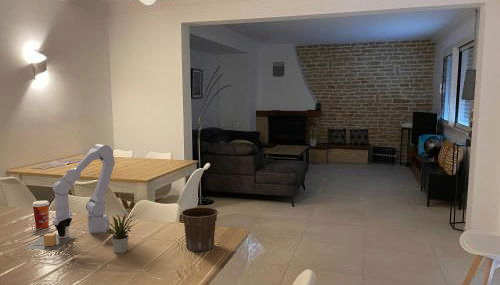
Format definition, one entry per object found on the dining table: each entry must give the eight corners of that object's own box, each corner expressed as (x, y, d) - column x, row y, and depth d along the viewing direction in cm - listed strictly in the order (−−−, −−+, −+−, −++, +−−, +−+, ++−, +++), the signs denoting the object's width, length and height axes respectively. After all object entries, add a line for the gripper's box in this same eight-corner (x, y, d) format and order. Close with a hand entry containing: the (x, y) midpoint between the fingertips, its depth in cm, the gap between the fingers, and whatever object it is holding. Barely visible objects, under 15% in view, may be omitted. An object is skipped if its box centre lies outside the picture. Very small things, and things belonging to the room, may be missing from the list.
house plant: (146, 246, 172) (145, 211, 170) (127, 258, 159) (126, 220, 157) (120, 242, 176) (119, 208, 175) (99, 254, 163) (97, 217, 162)
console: (74, 236, 184) (74, 234, 184) (56, 251, 167) (56, 248, 166) (45, 236, 184) (45, 234, 184) (24, 251, 166) (23, 248, 166)
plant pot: (195, 238, 183) (195, 205, 181) (225, 243, 176) (224, 209, 174) (174, 249, 168) (173, 214, 166) (205, 256, 161) (205, 219, 159)
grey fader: (69, 235, 182) (68, 225, 181) (66, 238, 179) (66, 227, 178) (61, 235, 182) (60, 225, 181) (58, 238, 179) (57, 227, 178)
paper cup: (43, 231, 192) (41, 204, 190) (30, 230, 193) (28, 203, 192) (54, 226, 199) (52, 200, 198) (41, 225, 201) (39, 199, 199)
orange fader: (56, 243, 172) (55, 233, 171) (53, 246, 169) (52, 235, 168) (47, 243, 172) (46, 233, 171) (44, 246, 169) (43, 235, 168)
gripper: (61, 202, 186) (62, 229, 187) (45, 211, 171) (47, 240, 173) (75, 202, 186) (77, 229, 187) (61, 211, 172) (62, 240, 173)
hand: (63, 235), depth 180 cm, fingers closed on grey fader, 3 cm apart
